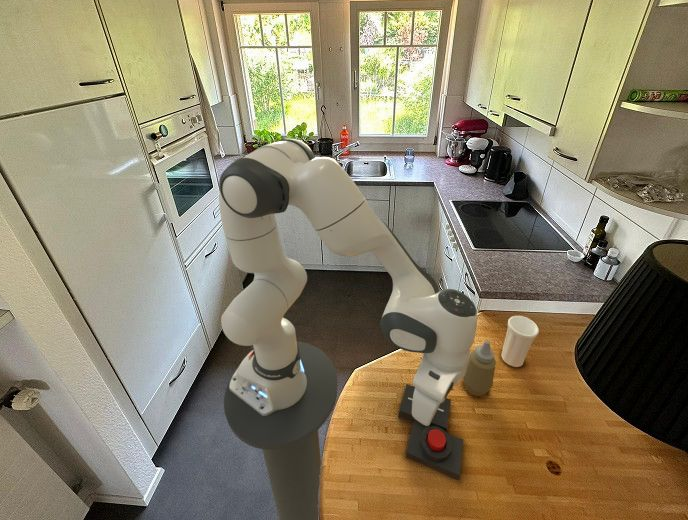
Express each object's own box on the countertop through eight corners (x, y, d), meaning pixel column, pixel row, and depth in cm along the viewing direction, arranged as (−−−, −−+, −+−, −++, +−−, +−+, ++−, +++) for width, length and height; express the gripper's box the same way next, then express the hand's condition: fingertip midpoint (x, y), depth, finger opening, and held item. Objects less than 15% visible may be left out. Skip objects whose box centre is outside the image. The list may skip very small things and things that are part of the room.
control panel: (397, 419, 83) (398, 412, 82) (406, 388, 91) (407, 381, 89) (445, 437, 79) (446, 430, 78) (449, 404, 87) (451, 396, 85)
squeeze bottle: (459, 395, 89) (471, 350, 81) (460, 371, 96) (470, 327, 87) (491, 404, 87) (506, 358, 78) (489, 378, 94) (502, 334, 85)
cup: (528, 373, 95) (541, 339, 88) (498, 366, 97) (509, 332, 90) (524, 352, 102) (536, 318, 95) (496, 345, 104) (506, 312, 97)
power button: (425, 447, 74) (426, 443, 73) (429, 430, 77) (429, 426, 77) (443, 454, 73) (444, 450, 72) (446, 437, 76) (447, 433, 75)
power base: (405, 457, 76) (406, 448, 74) (413, 425, 82) (414, 415, 80) (458, 480, 72) (461, 471, 70) (461, 444, 78) (464, 434, 76)
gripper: (450, 322, 76) (442, 361, 82) (408, 386, 62) (403, 427, 68) (476, 334, 73) (466, 374, 79) (439, 405, 58) (430, 447, 65)
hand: (436, 399), depth 73 cm, fingers closed
